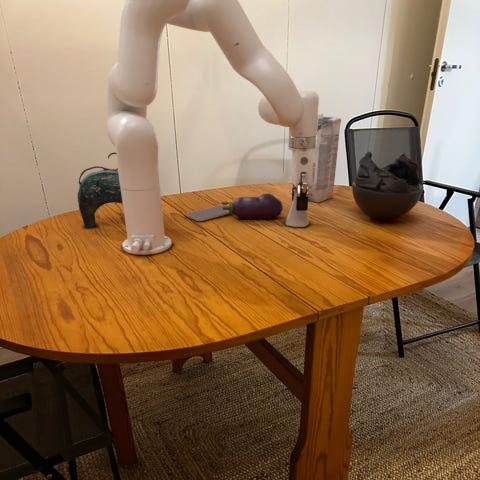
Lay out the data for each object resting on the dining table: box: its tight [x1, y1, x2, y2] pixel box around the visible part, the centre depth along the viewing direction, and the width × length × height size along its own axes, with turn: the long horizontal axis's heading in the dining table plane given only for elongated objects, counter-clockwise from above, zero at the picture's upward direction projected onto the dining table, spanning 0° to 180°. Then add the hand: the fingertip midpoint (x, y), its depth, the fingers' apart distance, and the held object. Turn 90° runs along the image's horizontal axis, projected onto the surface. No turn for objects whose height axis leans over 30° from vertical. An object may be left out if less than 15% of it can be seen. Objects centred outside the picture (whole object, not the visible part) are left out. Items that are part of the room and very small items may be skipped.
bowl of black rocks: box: [351, 151, 424, 221], centre depth 130 cm, size 20×20×19 cm
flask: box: [284, 189, 310, 228], centre depth 129 cm, size 7×7×10 cm
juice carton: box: [308, 113, 342, 203], centre depth 148 cm, size 9×10×27 cm
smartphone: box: [186, 204, 230, 222], centre depth 139 cm, size 7×1×15 cm
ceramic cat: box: [77, 151, 123, 229], centre depth 127 cm, size 20×6×20 cm, turn 108°
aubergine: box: [223, 192, 284, 220], centre depth 134 cm, size 7×18×7 cm, turn 91°
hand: (299, 205), depth 129 cm, fingers open, 9 cm apart
